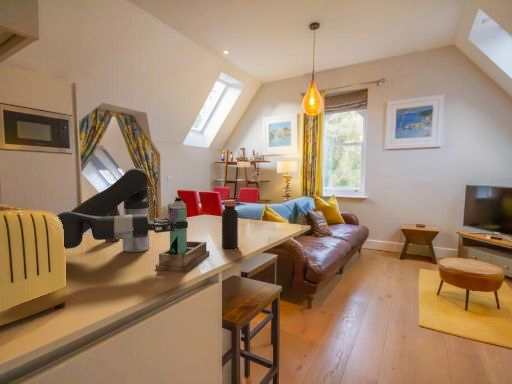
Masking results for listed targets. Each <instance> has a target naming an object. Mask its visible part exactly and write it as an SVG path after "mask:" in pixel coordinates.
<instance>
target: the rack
mask: <svg viewBox="0 0 512 384" xmlns="http://www.w3.org/2000/svg"><path fill="white" fill-rule="evenodd" d="M208 256H210V250H207V241H194V240H187V253H185V254H184V255H176V254H170V248H168V249H166V250H164V251H162V252H160V253H158V263H157V264H155V270H157V271H166V272H167V271H168V272H180V273H188V272H189V271H190V270H192V269H193V268H194V267H195V266H197V265H198V264H199V263H200V262H202V261H203V260H205V259H206V258H207V257H208Z"/></svg>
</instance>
